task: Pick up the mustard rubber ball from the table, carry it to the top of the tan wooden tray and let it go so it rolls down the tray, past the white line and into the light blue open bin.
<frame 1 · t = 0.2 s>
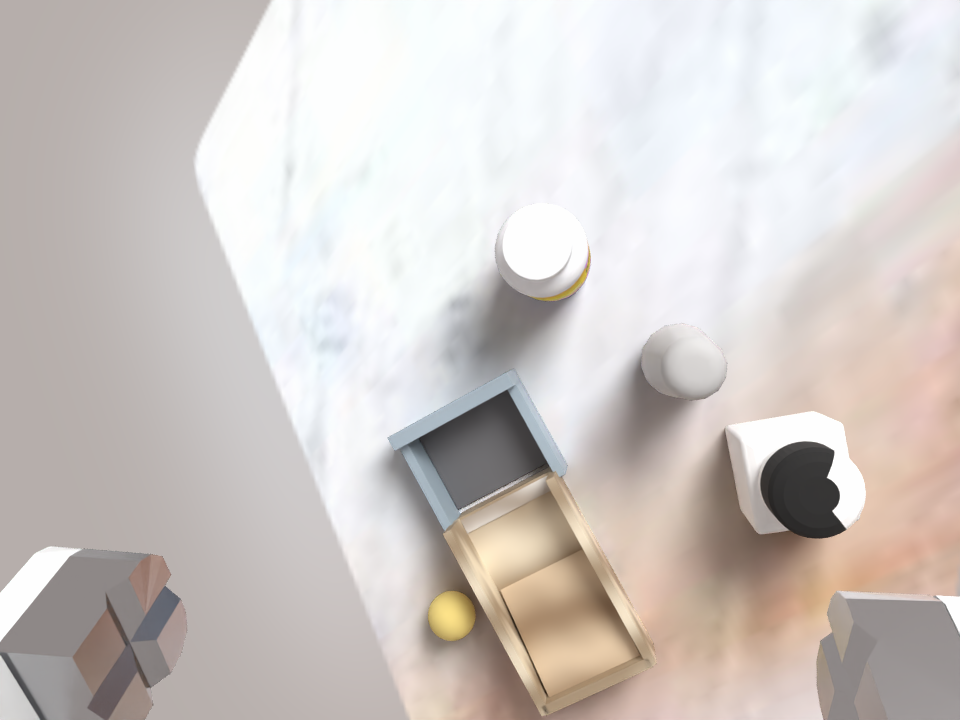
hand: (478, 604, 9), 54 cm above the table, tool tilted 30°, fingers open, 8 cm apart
tan wooden tray: (553, 572, 64), on the table
salt shaker: (675, 358, 61), on the table
ball: (451, 615, 63), point 2 cm above the table
medicine bottle: (776, 460, 60), on the table
light blue open bin: (484, 447, 64), on the table
supplement bottle: (550, 261, 62), on the table
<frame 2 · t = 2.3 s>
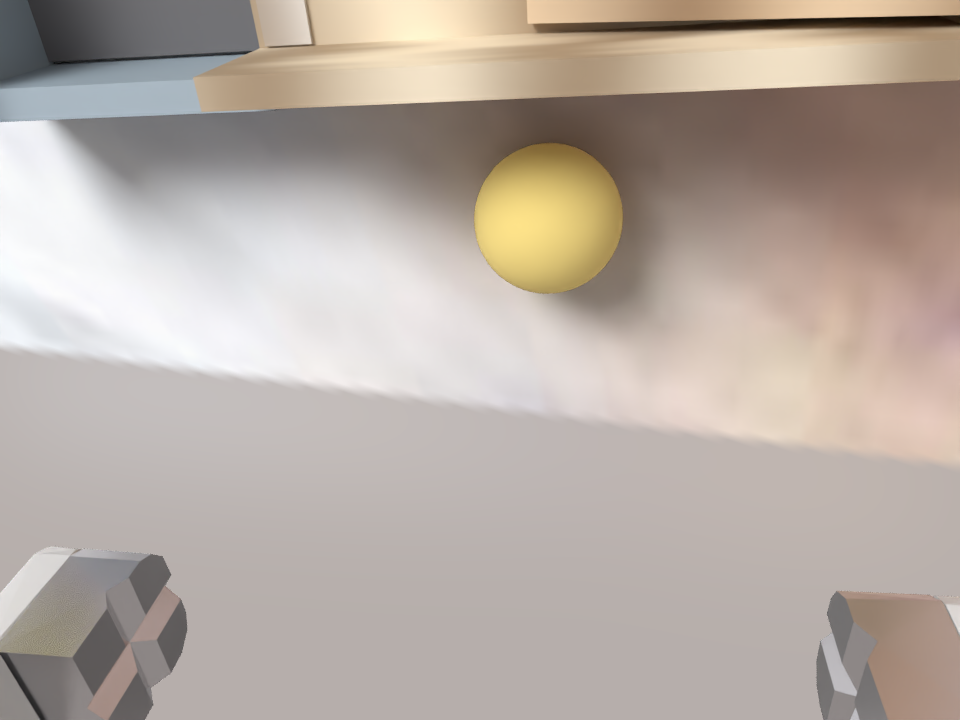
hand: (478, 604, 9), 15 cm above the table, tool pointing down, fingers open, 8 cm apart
ball: (547, 219, 20), point 2 cm above the table
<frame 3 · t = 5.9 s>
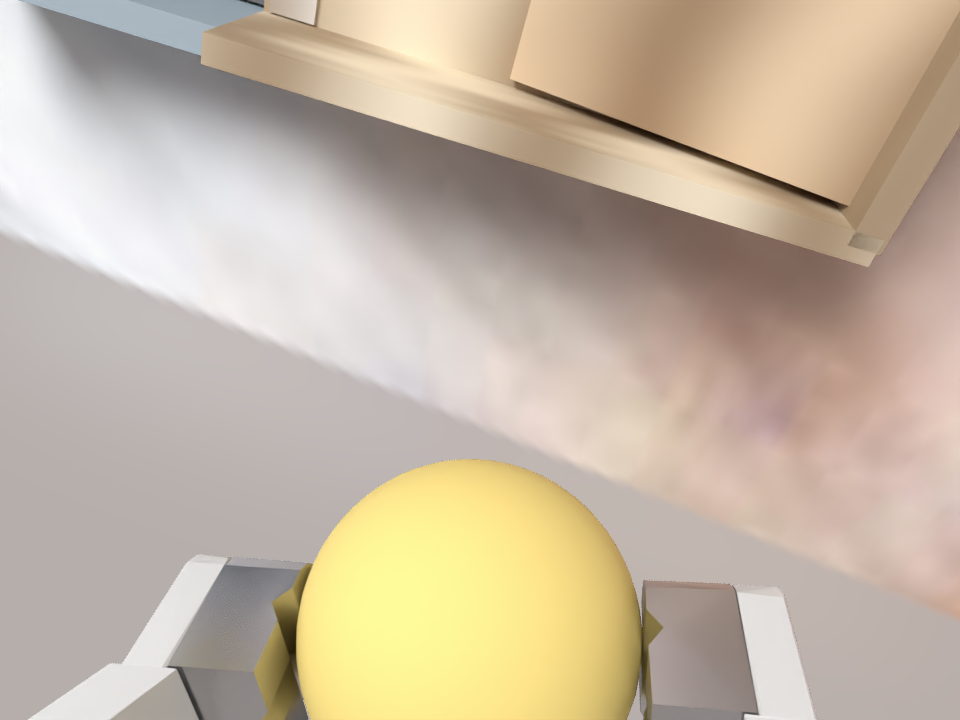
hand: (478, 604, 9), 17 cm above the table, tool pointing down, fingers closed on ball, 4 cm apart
ball: (469, 629, 9), point 17 cm above the table, touching gripper
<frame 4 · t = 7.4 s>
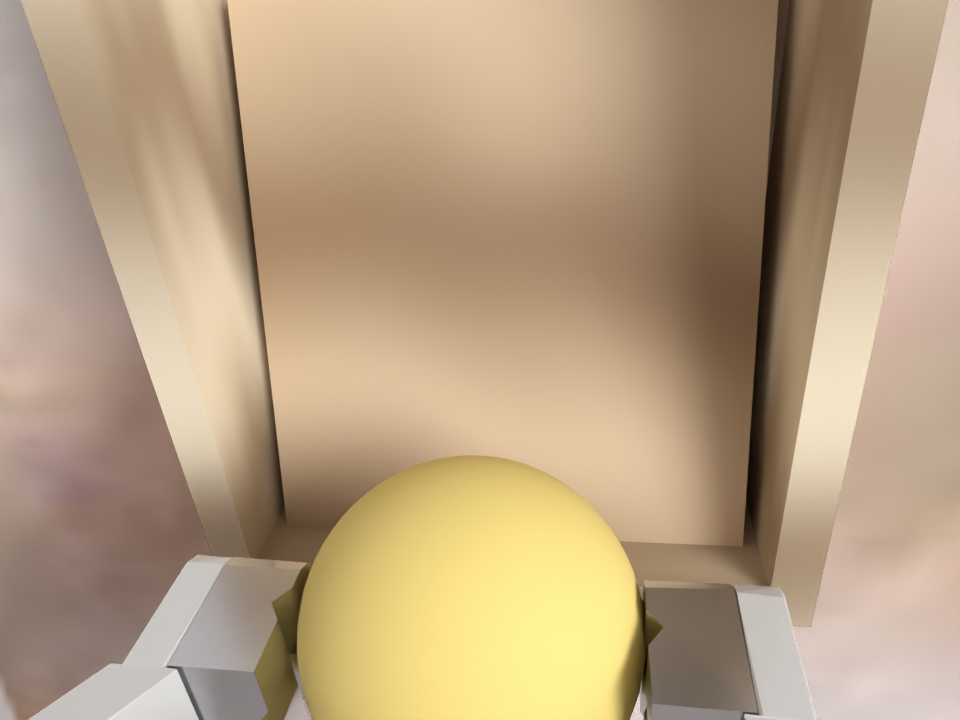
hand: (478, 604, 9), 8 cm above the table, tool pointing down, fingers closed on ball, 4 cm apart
tan wooden tray: (511, 45, 14), on the table
ball: (471, 626, 9), point 9 cm above the table, touching gripper
when the fingers open (8 cm above the table, at t = 7.8 s): ball drops 6 cm and tips over, resting on light blue open bin.
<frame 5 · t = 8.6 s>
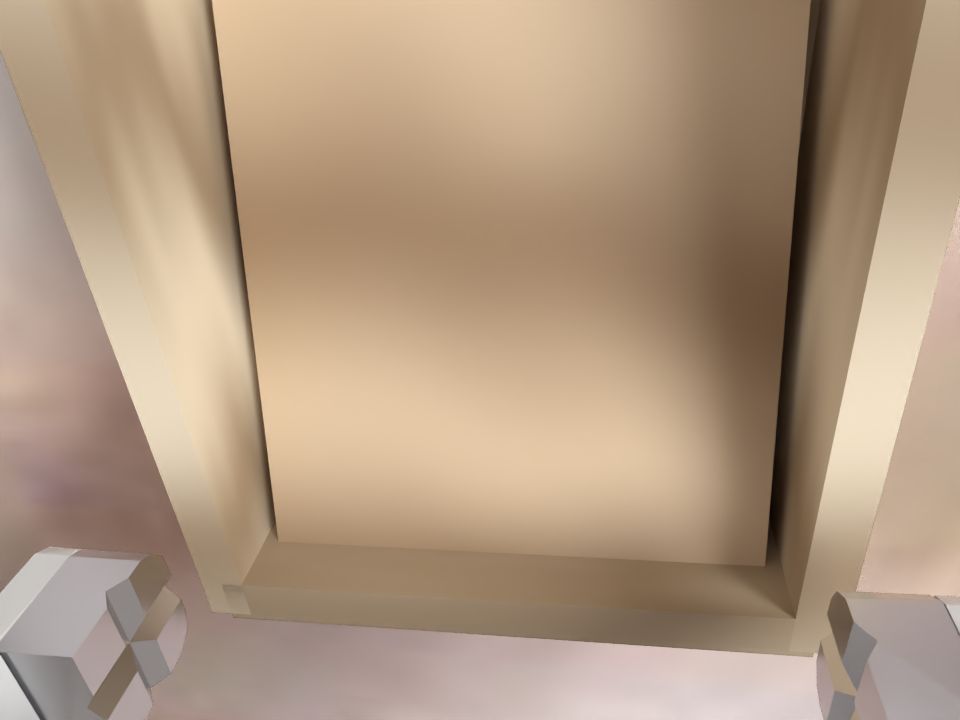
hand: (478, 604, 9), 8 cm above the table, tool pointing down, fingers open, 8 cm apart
tan wooden tray: (517, 26, 13), on the table
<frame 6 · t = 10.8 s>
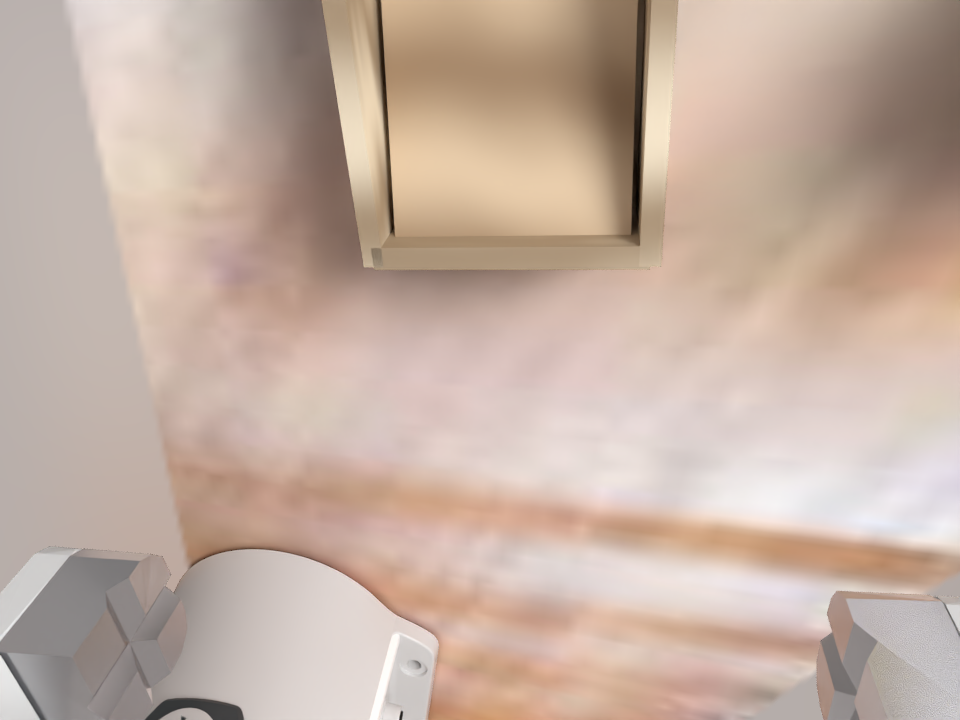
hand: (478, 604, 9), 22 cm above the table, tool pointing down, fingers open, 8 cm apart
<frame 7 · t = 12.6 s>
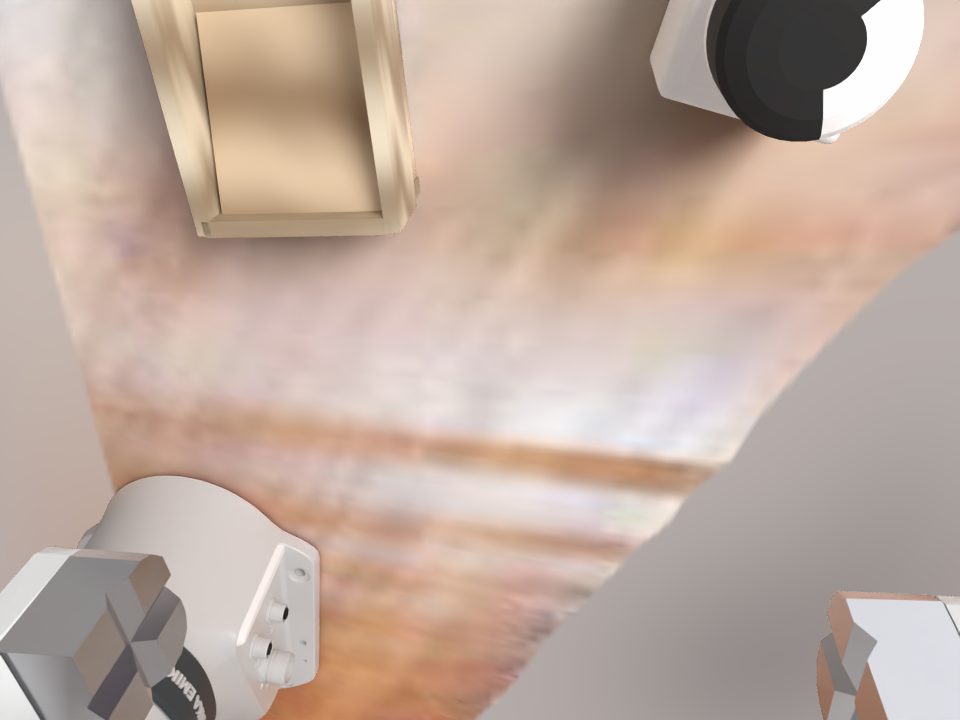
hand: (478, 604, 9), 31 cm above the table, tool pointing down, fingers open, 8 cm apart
tan wooden tray: (306, 29, 36), on the table
medicine bottle: (753, 1, 33), on the table
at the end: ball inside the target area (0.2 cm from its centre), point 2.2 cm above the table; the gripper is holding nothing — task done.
